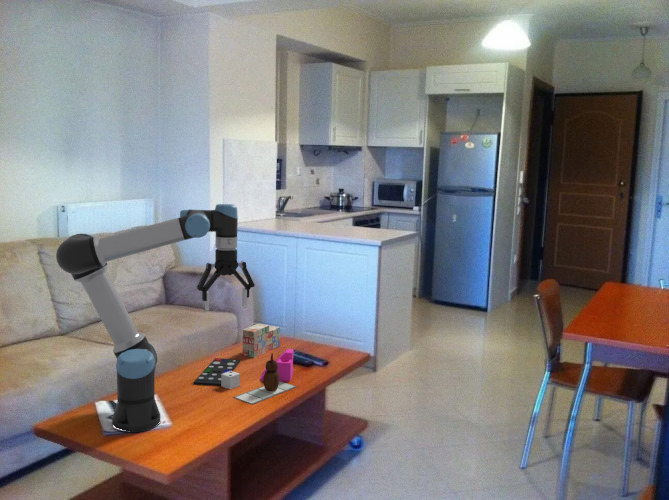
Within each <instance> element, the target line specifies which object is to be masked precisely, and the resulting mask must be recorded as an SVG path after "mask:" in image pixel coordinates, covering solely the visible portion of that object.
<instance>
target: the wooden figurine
mask: <svg viewBox="0 0 669 500" xmlns="http://www.w3.org/2000/svg"><path fill="white" fill-rule="evenodd" d="M273 354H274V353H273V352H271V355H270V360H267V361H266V363H265V369H266V370H267V371H266V372H265V374H264V378H263V380H262V381H263V382H262V383H263V386H264V387H265V389H266V390H268V391H274V390H276V389H277V388H278V385H279V372H278V371H277V368H278V364H277V362H276V360H274V355H273Z"/></svg>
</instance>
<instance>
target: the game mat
mask: <svg viewBox="0 0 669 500" xmlns="http://www.w3.org/2000/svg"><path fill="white" fill-rule="evenodd" d="M295 388H297V385H296V386H295V385H293V384H290V383H287V382H285V381H279V385H278V388H277V389H276V390H274V391H268V390H266V389H265V387H264V385H262V386H260V387H257V388H254V389H252V390H248V391H247V392H243V393H240V394H238V395H235V396H233V397H232V398H234V399H236V400H239V401H241V402H244V403H246V404H250V405H251V406H252V405H255V404H258V403H260V402H263V401H265V400H268V399H270V398H273V397H275V396H278V395H281V394H283V393H285V391H286V392H288V391H290V390H293V389H295Z"/></svg>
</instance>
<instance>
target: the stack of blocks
mask: <svg viewBox="0 0 669 500" xmlns="http://www.w3.org/2000/svg"><path fill="white" fill-rule="evenodd" d="M280 331H281V329H280V327H279V326H273V325H269V324H263V323H256V324H254V325H251V326H249V327H246V328H243V329H242V356H244V357H248V358H253V359H254V358H257V357H259V356H262V355H264V354H266V353H267V352H269V351H272V350H274V349H277V348H278V347H280V346H281V345H280V342H281V341H280V340H281V339H280V338H281V334H280Z"/></svg>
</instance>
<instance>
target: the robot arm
mask: <svg viewBox="0 0 669 500" xmlns="http://www.w3.org/2000/svg"><path fill="white" fill-rule="evenodd" d="M238 217H239V215H238V206H237V205H236V204H231V203H217V204H216V205H215V207H214V209H210V210H209V209H191V208H190V209H182V210H181V211H180V212H179V217H176V218H173V219H172V218H171V219H169V220H165V221H162V222H158V223H153V224H150V225H147V226H142V227H139V228H135V229H131V230H128V231H124V232H123V231H122V232H119V233H117V234H112V235H108V236H104V237H101V238H99V237H97V236H93V235H91V234H88V233H76V234H73V235H70V236H69V237H67V238H66V240H64V241H62V242H61V244H59V246H58V248H57V250H56V255H55V258H56V263H57V264H58V266H59V267H60V269H61V270H63V272H66V273H68V274H70V276H71V277H72V279H73V281H75V282H78V283H80V284H82V287H83V288H84V290H85V292H86V294H87V296H88V298H89V299H90V302H91V303H92V305H93V307H94V309H95V311H96V313H97V314H98V316H99V318H100V320H101V322H102V324H103V325H104V327H105V329H106V331H107V333H108V335H109V337H110V338H111V341H112V343H113V344H114V346H113V349H112V352H113V354H114V356H115V359H116V362H115V369H116V391H117V393H116V395H117V399H116V406H115V409H114V411H113V414H112V419H111V421H112V422H111V425H112V424H113V425H114V426H115V427H116V428H119V429H122V430H126V431H130V432H129V433H140V432H144V431H145V432H146V431H149V430H152V429H154V428H155V427H154V426H156V425H157V424H158V423H159V422H161V412H160V410H159V407H158V404H157V402H156V398H155V372H156V367H157V364H158V354H157V351H156V349H155V347H154V346H153V345H152V344H151V343H150V342H149V340H148V339H147V337H146V335H145V334H144V333H142V332H138V330H137V328H136V326H135V324H134V321H133V319H132V318H131V316H130V315H129V312H128V310H127V309H126V307H125V305H124V303H123V301H122V299H121V297H120V295H119V294H118V292H117V289H116V288H115V286H114V284H113V282H112V280H111V278H110V276H109V273H108V272H107V269H108V266H109V264H108V262H110V261H115V260H117V259H121V258H125V257H130V256H132V255H136V254H139V253H143V252H146V251H150V250H154V249H158V248H162V247H164V246H169V245H172V244H175V243H180V242H183V241H187V240H191V239H195V238H196V239H199V238H200V239H201V238H203V237H204V236H206V235H207V234H208V233H213V232H215V244H214V245H215V248H216V249H215V252H214V253H215V255H214V256H215V262H214V263H210V262H207V263H206V264H205V269H204V272H203V274H202V275H201V278H200V280H199V282H198V284H197V286H196V289H197V290H198V291H200V292H202V293H201V296H202V297H201V300H202V301H203V302H204V310H205V311H206V312H209V311H210V291H209V289H210V288H211V286H213V284H214V283H215V282H216V280H217V279H218V278H219V277H220V276H223V277H225V276H232V275H233V276H234V277H235V278H236V279H237V280H238V282H240V283H241V285H242V286H243V288H242V294H241V295H242V296H241V297H242V298H241V299H242V303H241V306H242V307H243V308H247V307H248V302H247V301H248V298H250V290H251V288H254V287H255V282H254V280H253V279H252V276H251V275H250V272H249V270H248V269H247V262H245V261H243V260H242V261H239V262H238V250H237V248H238V225H239V224H238V221H239V220H238V219H239V218H238ZM238 267H239V268H240V269H241V270H242V273H243V275H244V277H245V279H246V280H245V279H244V278H243V277H242V276H241V275H240V273H239V272H238V271H237V269H238ZM214 268H215V271H214V272H213V274H212V275H211V276H210V278H209V275H210V273H211V271H212V270H213V269H214ZM208 278H209V279H208ZM207 279H208V280H207ZM246 281H247V282H246ZM159 424H160V423H159ZM159 424H158V425H159ZM158 425H157V426H158ZM157 426H156V427H157ZM153 427H154V428H153ZM151 428H152V429H151Z"/></svg>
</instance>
